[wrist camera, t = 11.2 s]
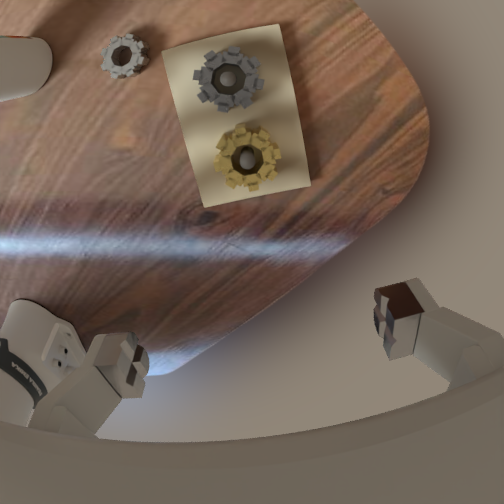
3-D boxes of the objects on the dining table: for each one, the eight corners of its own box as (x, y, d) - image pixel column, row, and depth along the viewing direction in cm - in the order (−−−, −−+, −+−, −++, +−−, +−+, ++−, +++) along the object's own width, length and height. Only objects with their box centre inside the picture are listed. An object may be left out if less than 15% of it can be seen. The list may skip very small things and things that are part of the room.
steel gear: (274, 87, 28) (278, 87, 26) (222, 121, 30) (220, 125, 27) (238, 38, 26) (237, 33, 23) (185, 74, 27) (179, 73, 25)
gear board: (308, 181, 35) (318, 198, 30) (205, 202, 36) (199, 223, 31) (277, 26, 26) (283, 15, 21) (164, 52, 27) (150, 47, 22)
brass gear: (282, 175, 33) (286, 184, 30) (224, 187, 34) (222, 197, 31) (271, 117, 30) (273, 121, 27) (209, 131, 31) (205, 135, 28)
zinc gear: (157, 64, 28) (151, 63, 26) (118, 86, 29) (110, 87, 27) (140, 28, 26) (133, 25, 24) (102, 51, 26) (93, 50, 25)
